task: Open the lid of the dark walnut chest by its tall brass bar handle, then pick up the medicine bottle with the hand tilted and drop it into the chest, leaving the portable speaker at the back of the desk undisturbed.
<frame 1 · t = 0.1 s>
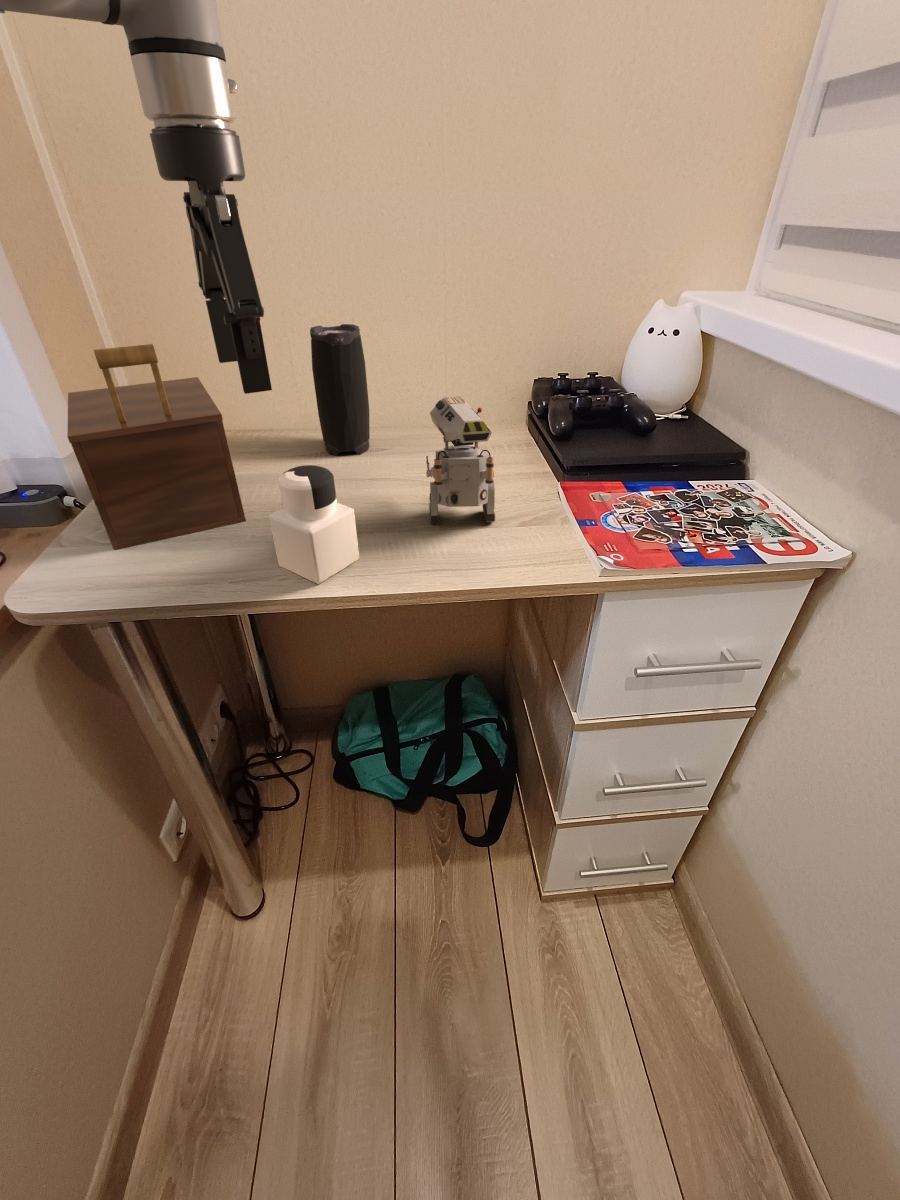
hand: (243, 375, 63), 21 cm above the table, tool pointing down, fingers open, 13 cm apart
figurine: (459, 512, 82), on the table
portable speaker: (347, 449, 101), on the table
medicine bottle: (319, 564, 71), on the table
chest lid: (132, 373, 71), point 19 cm above the table, hinge at 0.0°
chest: (174, 508, 82), on the table
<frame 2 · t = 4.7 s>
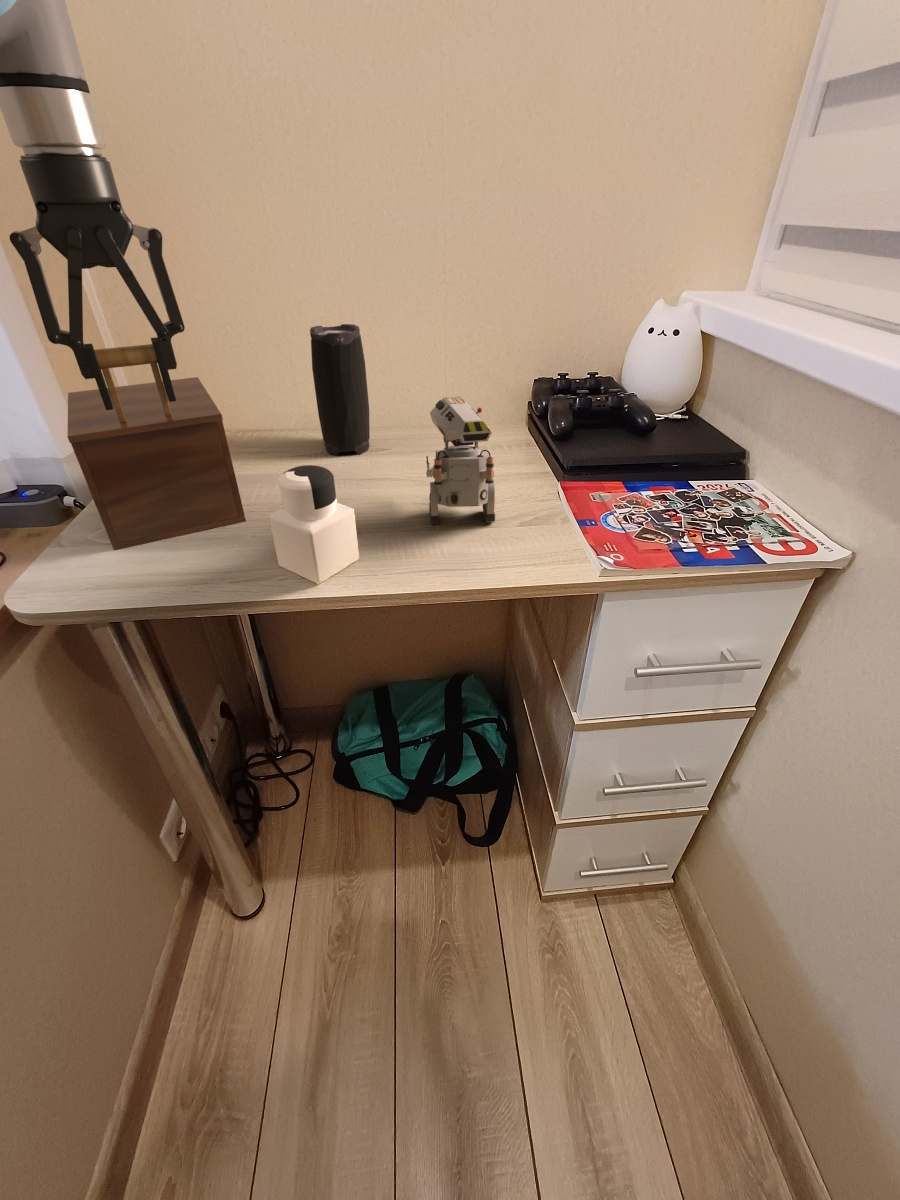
hand: (140, 401, 67), 17 cm above the table, tool pointing down, fingers closed on chest lid, 6 cm apart
chest lid: (132, 373, 71), point 19 cm above the table, hinge at 0.0°, touching gripper
everything else where it was.
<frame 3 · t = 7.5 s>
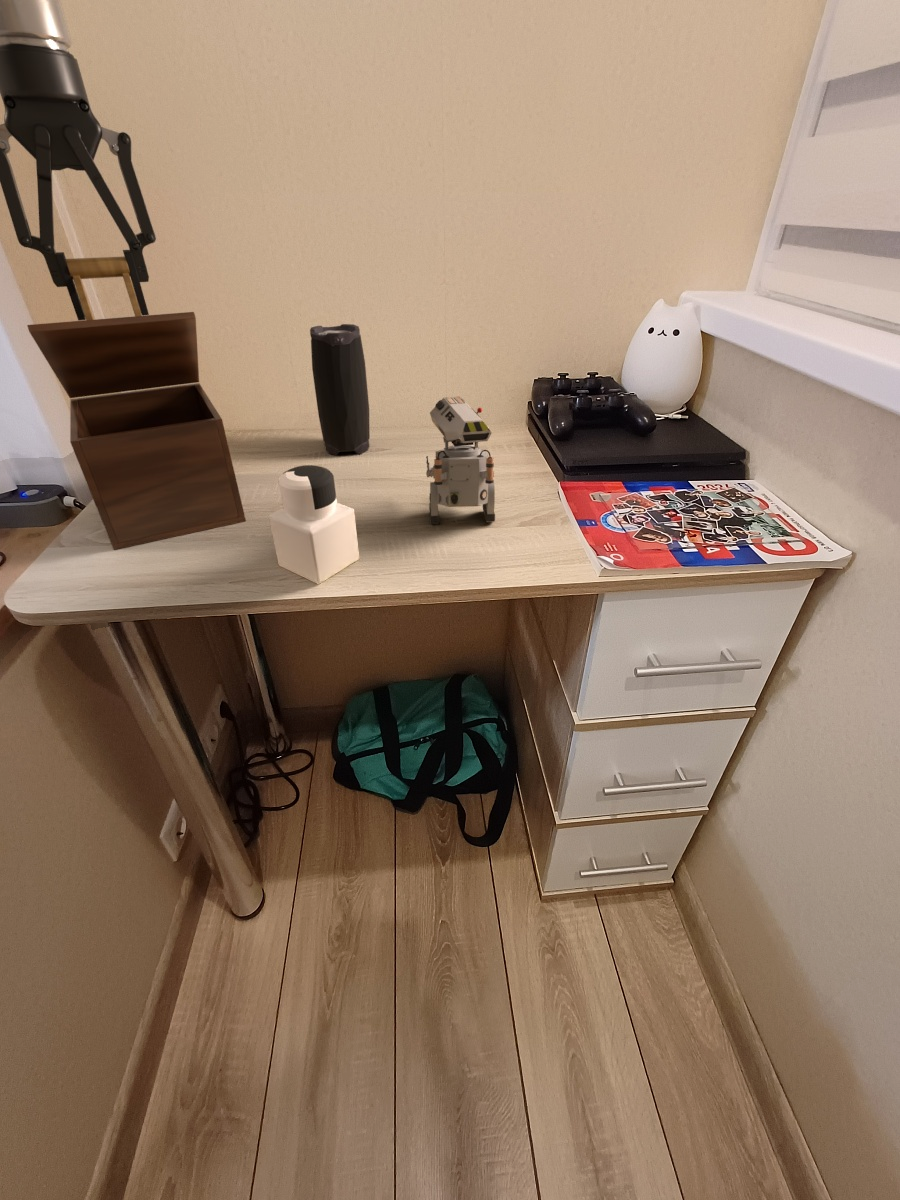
hand: (113, 315, 68), 25 cm above the table, tool pointing down, fingers closed on chest lid, 6 cm apart
chest lid: (117, 326, 71), point 23 cm above the table, hinge at 36.1°, touching gripper
everything else where it was.
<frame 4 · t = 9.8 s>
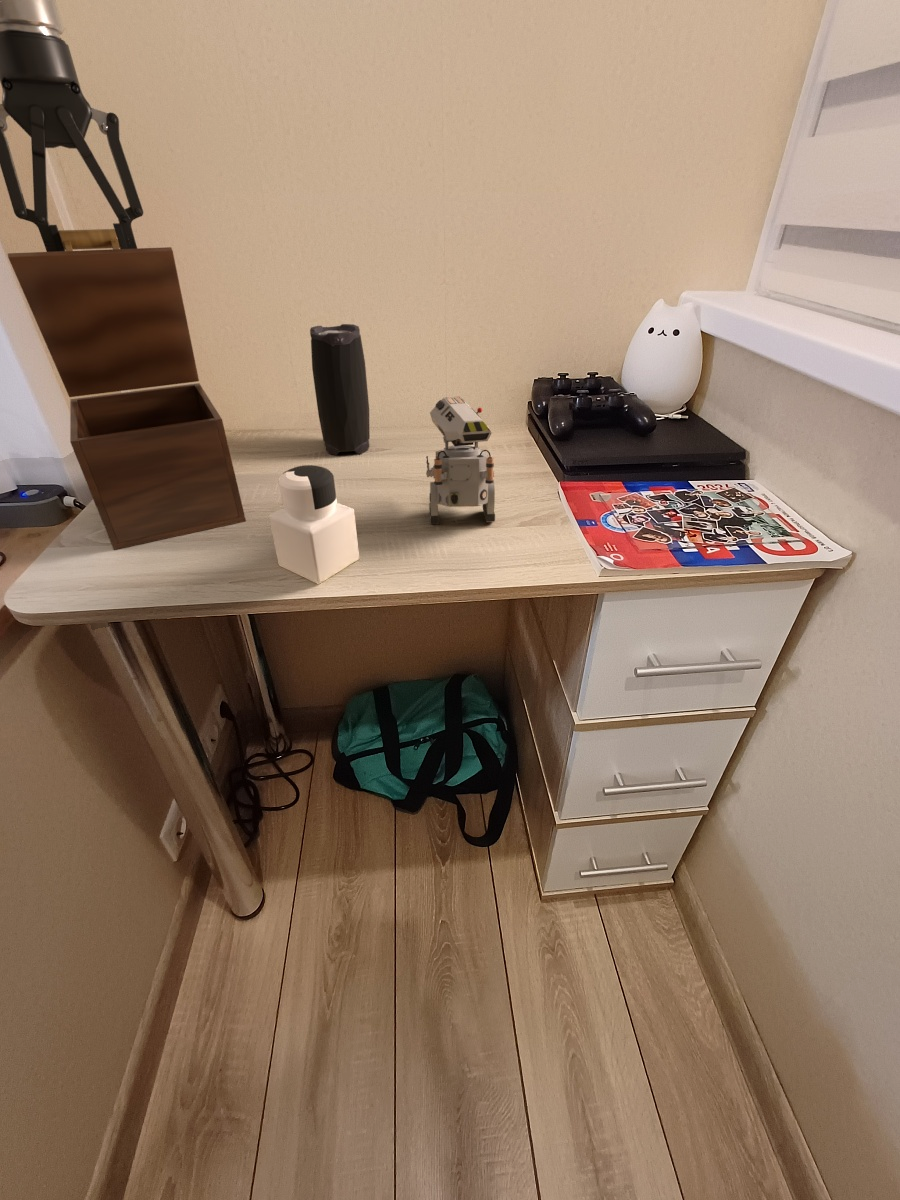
hand: (104, 284, 73), 27 cm above the table, tool pointing down, fingers open, 6 cm apart
chest lid: (111, 307, 74), point 25 cm above the table, hinge at 66.2°
everything else where it was.
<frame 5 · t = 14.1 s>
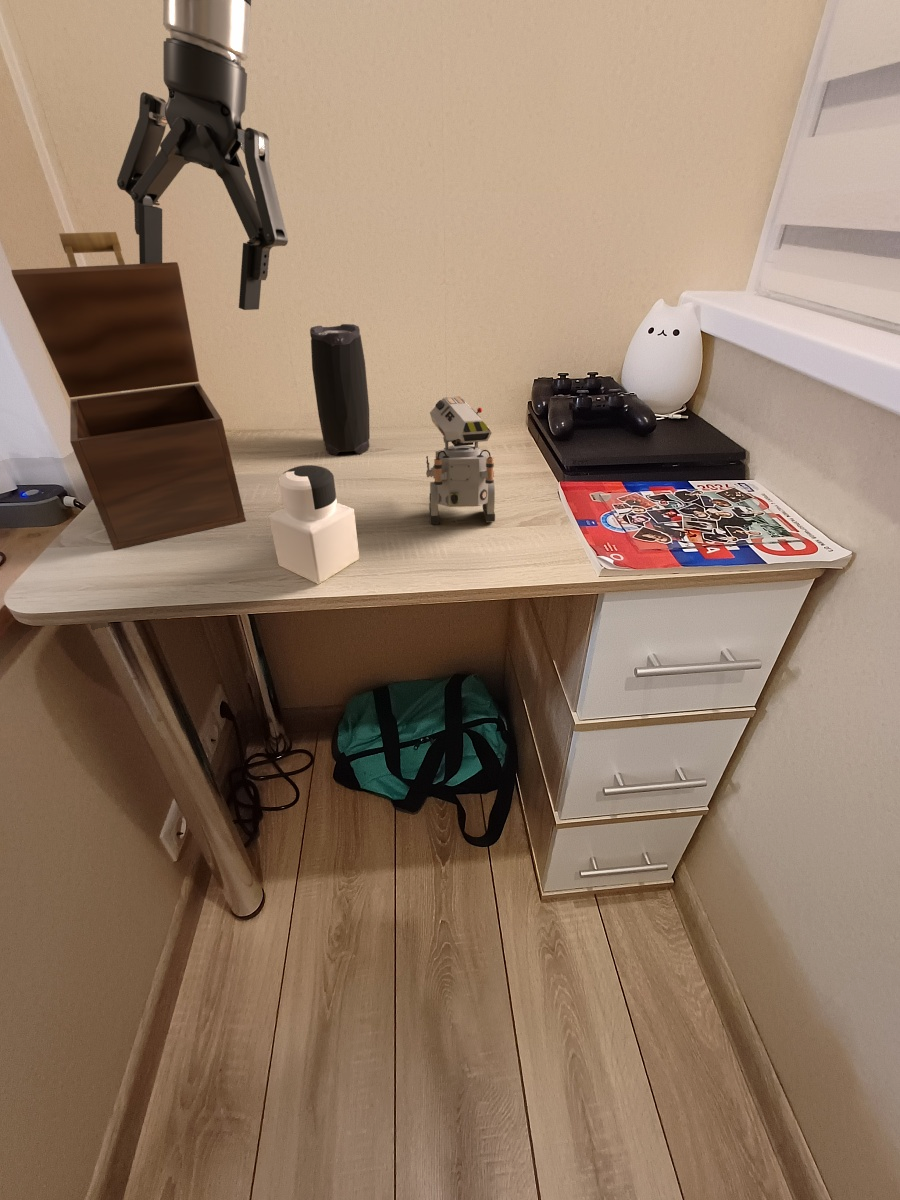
hand: (199, 289, 67), 28 cm above the table, tool tilted 15°, fingers open, 13 cm apart
chest lid: (112, 311, 73), point 25 cm above the table, hinge at 57.2°, touching gripper
everything else where it was.
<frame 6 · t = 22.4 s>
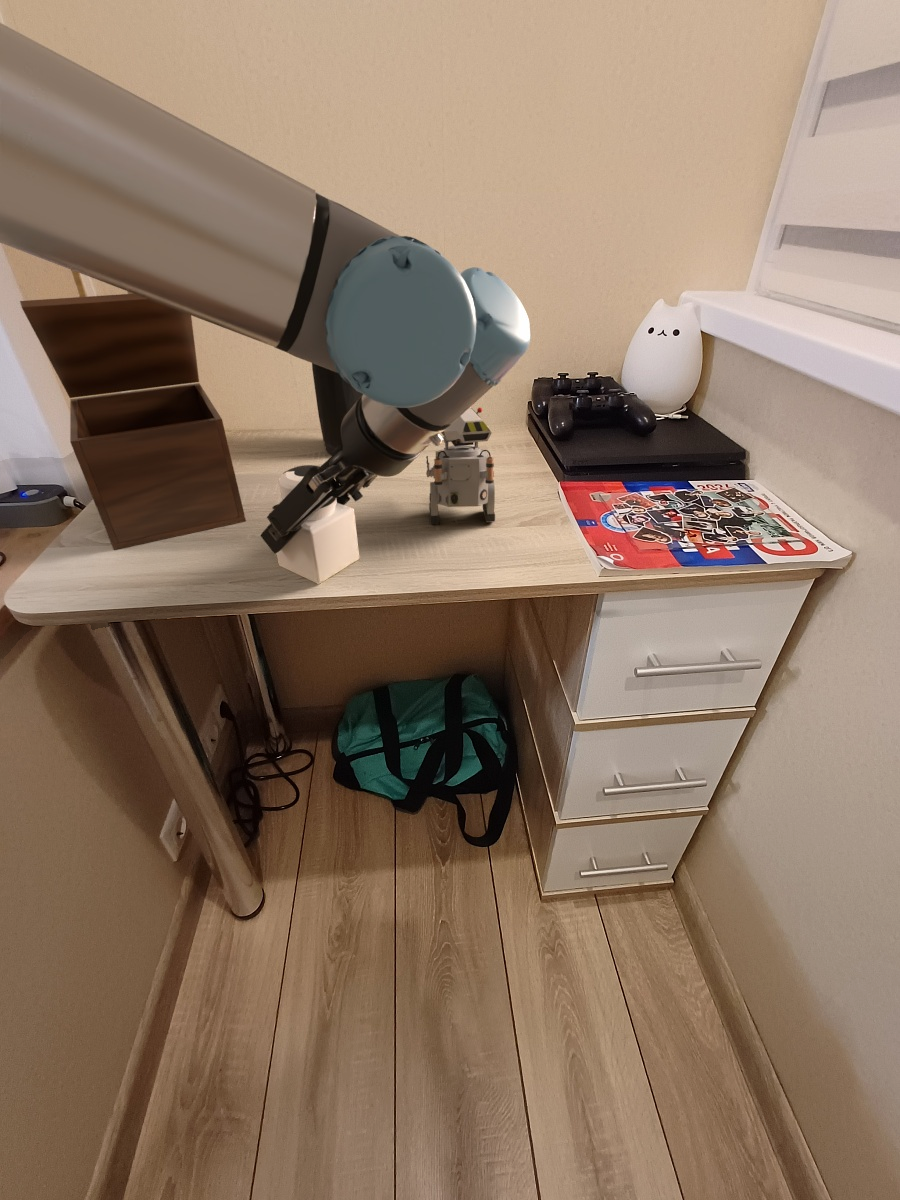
hand: (294, 528, 70), 4 cm above the table, tool tilted 45°, fingers closed on medicine bottle, 7 cm apart
medicine bottle: (320, 564, 71), on the table, touching gripper
chest lid: (114, 319, 72), point 24 cm above the table, hinge at 44.5°
everything else where it was.
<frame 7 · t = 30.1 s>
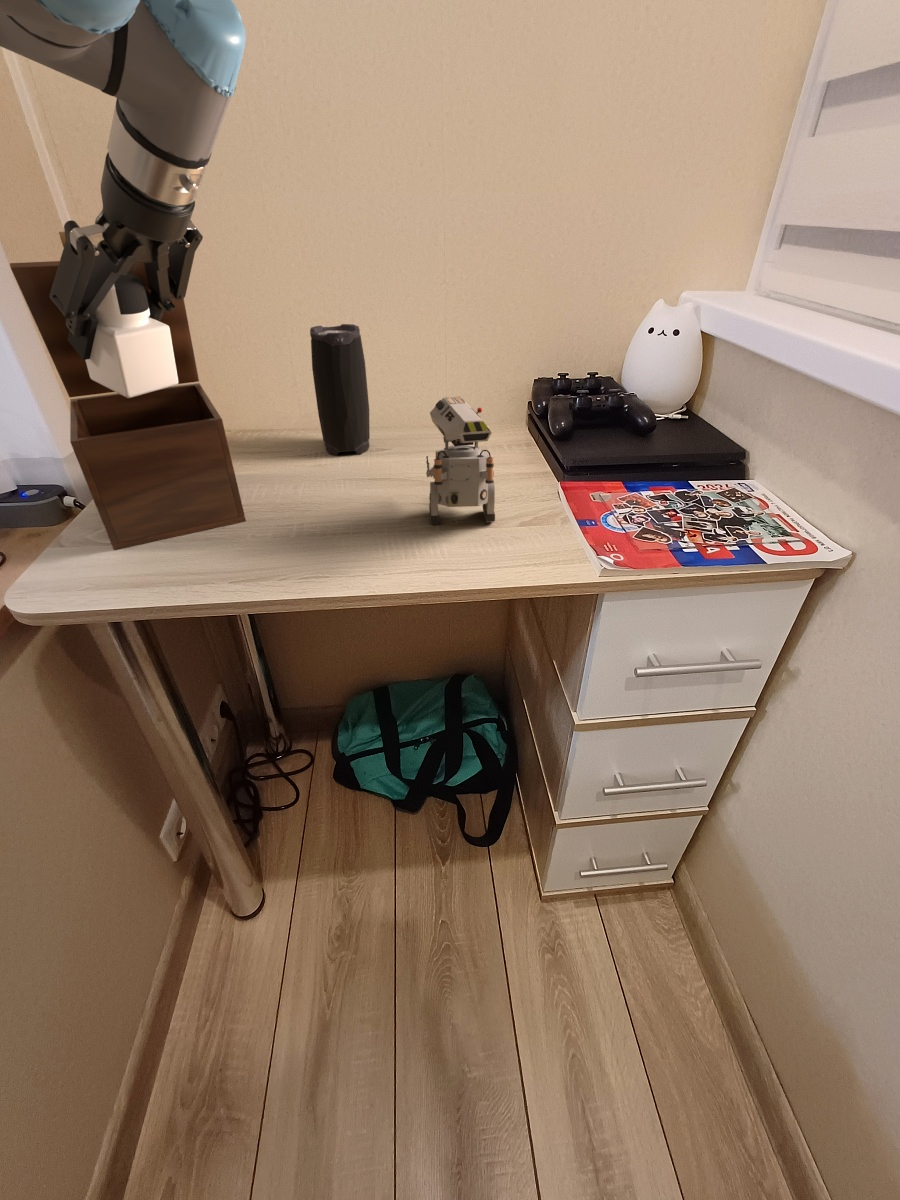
hand: (110, 343, 69), 22 cm above the table, tool tilted 45°, fingers closed on medicine bottle, 7 cm apart
medicine bottle: (136, 384, 70), point 18 cm above the table, touching gripper
chest lid: (111, 309, 73), point 25 cm above the table, hinge at 60.6°
everything else where it was.
when the fingers open (16 cm above the table, at t = 32.5 s): medicine bottle drops 11 cm, resting on chest.
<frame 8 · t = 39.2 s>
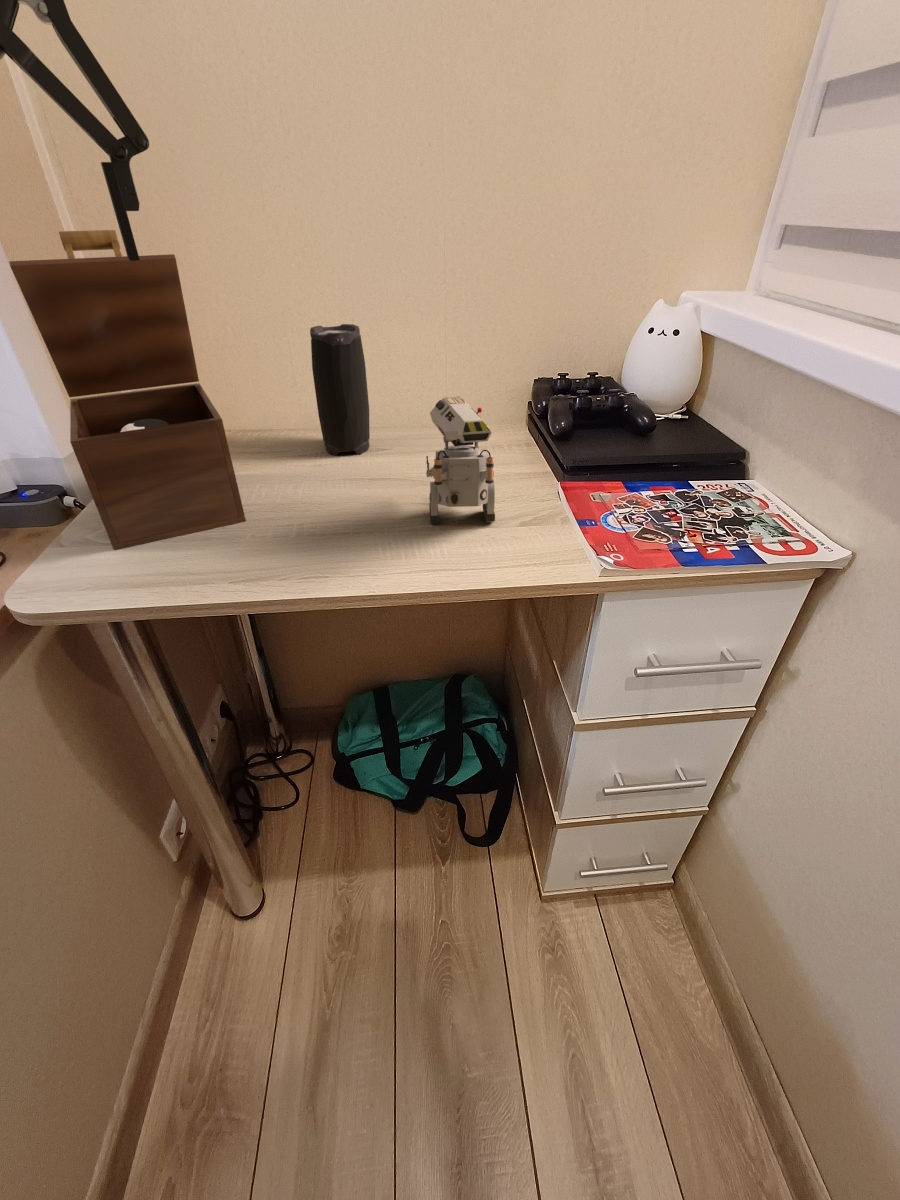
hand: (41, 263, 46), 33 cm above the table, tool pointing down, fingers open, 13 cm apart
medicine bottle: (171, 508, 81), point 1 cm above the table, touching chest
chest lid: (111, 309, 73), point 25 cm above the table, hinge at 61.6°
everything else where it was.
at the end: chest lid at +62° (first picture: +0°); medicine bottle inside the target area in the chest (1.5 cm from its centre), point 0.6 cm above the chest's base; portable speaker moved 0.2 cm from its start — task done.
